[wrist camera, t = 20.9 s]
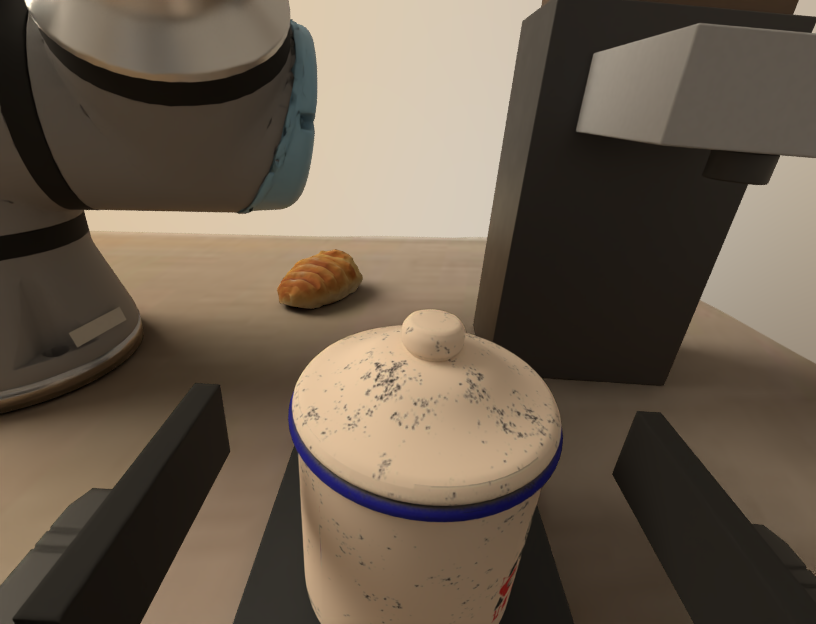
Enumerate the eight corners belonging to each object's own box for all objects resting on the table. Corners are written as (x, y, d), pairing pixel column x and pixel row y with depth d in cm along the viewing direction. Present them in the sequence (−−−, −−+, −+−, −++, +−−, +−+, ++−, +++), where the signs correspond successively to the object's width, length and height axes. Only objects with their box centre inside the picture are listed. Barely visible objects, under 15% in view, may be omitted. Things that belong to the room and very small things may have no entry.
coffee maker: (752, 484, 24) (1244, -324, 11) (513, 469, 24) (729, -384, 11) (618, 335, 40) (757, -73, 27) (473, 325, 40) (540, -94, 26)
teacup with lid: (547, 682, 15) (661, 419, 9) (278, 698, 14) (244, 416, 9) (473, 436, 25) (507, 251, 20) (319, 436, 24) (315, 241, 19)
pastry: (320, 320, 38) (318, 281, 37) (259, 305, 40) (255, 267, 39) (366, 286, 46) (366, 252, 45) (313, 274, 48) (312, 242, 47)
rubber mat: (598, 724, 14) (604, 716, 14) (208, 707, 14) (206, 698, 14) (514, 444, 26) (516, 437, 26) (301, 431, 25) (301, 423, 25)
